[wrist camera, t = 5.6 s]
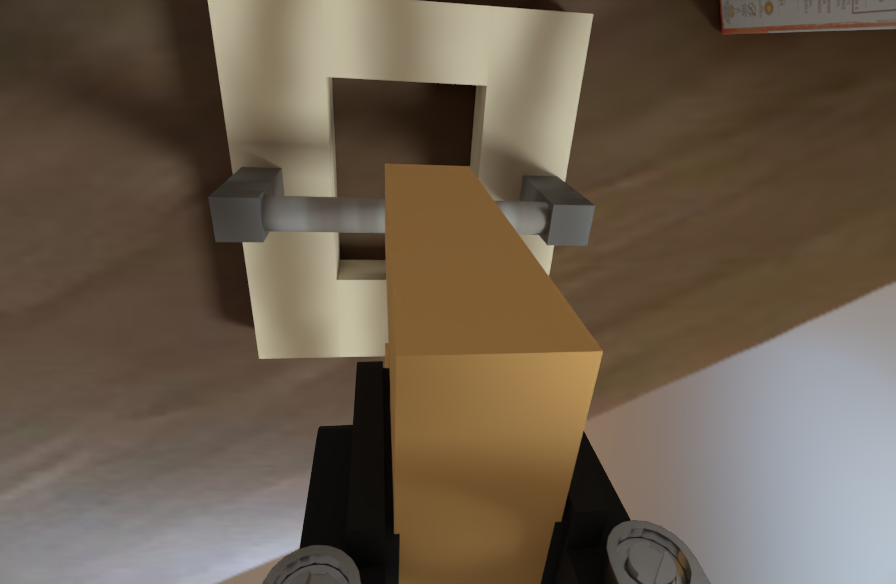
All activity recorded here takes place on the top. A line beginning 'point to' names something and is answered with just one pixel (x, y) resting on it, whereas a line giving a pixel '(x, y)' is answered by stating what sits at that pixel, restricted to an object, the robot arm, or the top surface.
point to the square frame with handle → (313, 145)
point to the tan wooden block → (476, 384)
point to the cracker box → (805, 15)
